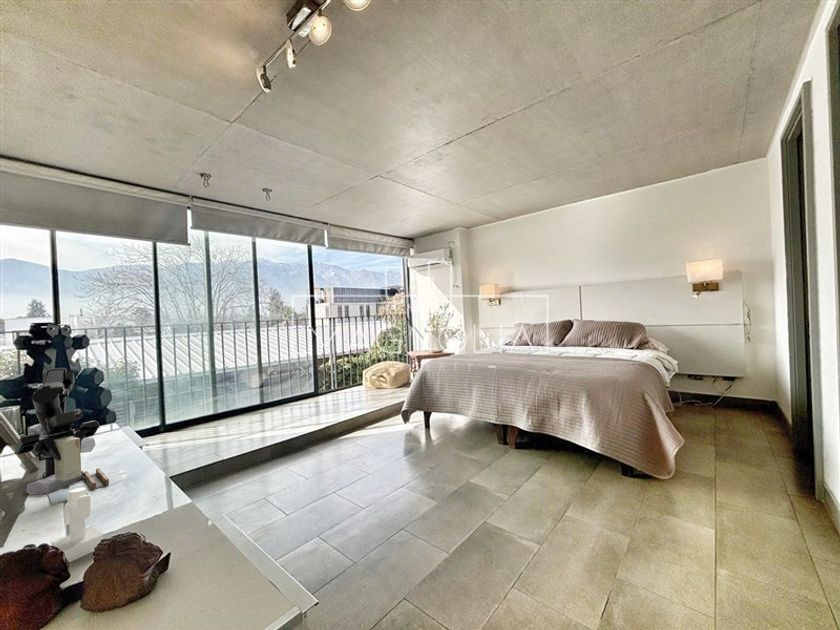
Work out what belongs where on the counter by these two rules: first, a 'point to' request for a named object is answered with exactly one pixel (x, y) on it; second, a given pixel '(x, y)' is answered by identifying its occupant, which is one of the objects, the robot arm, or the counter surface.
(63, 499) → the pad
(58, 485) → the stone block
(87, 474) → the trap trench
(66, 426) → the robot arm
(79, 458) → the skincare box
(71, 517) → the figurine
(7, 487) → the counter surface
